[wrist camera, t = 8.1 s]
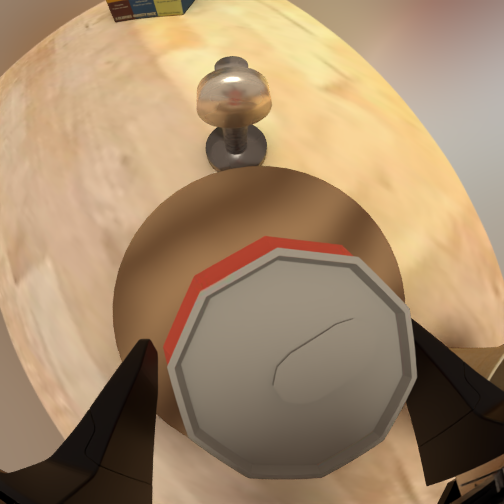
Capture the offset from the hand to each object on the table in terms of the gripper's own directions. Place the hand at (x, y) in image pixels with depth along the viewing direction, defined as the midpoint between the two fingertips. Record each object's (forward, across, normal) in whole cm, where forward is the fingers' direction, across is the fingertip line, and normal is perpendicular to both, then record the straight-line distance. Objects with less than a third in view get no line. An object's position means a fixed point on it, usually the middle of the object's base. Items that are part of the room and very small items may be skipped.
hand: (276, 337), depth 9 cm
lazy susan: (+6, 0, +6) cm, 9 cm away
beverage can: (+5, 0, +5) cm, 8 cm away
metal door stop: (+14, +1, -3) cm, 15 cm away
